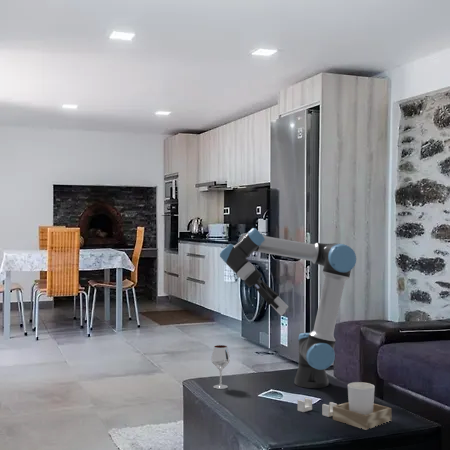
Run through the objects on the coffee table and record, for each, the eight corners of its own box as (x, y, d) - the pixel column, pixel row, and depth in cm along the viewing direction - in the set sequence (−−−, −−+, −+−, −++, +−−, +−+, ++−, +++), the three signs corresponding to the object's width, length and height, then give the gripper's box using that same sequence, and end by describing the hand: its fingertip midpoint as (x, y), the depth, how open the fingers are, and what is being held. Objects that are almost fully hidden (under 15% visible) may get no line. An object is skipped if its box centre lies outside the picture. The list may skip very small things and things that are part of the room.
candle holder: (375, 423, 219) (375, 389, 219) (347, 421, 221) (347, 388, 221) (373, 414, 229) (373, 382, 229) (347, 413, 230) (347, 381, 230)
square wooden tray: (358, 411, 235) (358, 399, 235) (391, 421, 224) (391, 408, 224) (332, 419, 226) (332, 406, 226) (365, 429, 214) (365, 416, 214)
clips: (311, 406, 242) (311, 396, 242) (337, 414, 232) (337, 403, 232) (297, 410, 237) (297, 400, 237) (323, 418, 227) (323, 407, 227)
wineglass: (218, 383, 277) (218, 344, 277) (233, 386, 272) (233, 346, 272) (207, 387, 270) (207, 346, 270) (222, 390, 265) (222, 349, 265)
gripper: (247, 278, 272) (281, 313, 269) (238, 283, 247) (275, 322, 244) (259, 266, 271) (293, 301, 268) (251, 270, 246) (289, 309, 243)
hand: (285, 311), depth 256 cm, fingers open, 13 cm apart
